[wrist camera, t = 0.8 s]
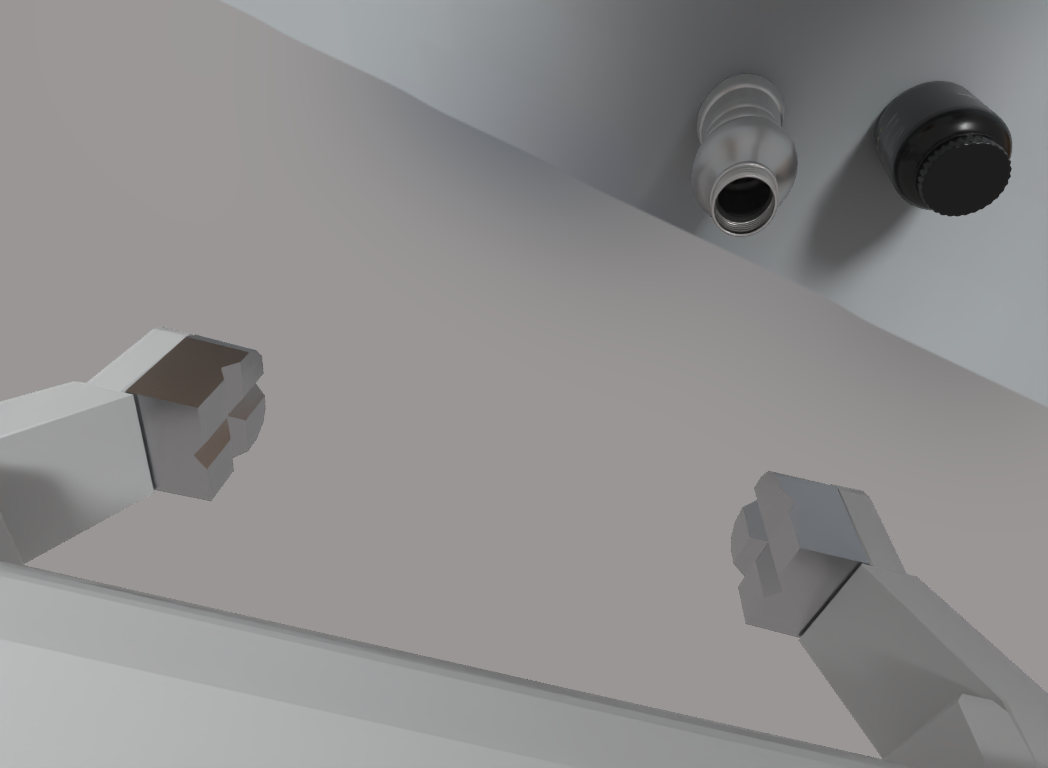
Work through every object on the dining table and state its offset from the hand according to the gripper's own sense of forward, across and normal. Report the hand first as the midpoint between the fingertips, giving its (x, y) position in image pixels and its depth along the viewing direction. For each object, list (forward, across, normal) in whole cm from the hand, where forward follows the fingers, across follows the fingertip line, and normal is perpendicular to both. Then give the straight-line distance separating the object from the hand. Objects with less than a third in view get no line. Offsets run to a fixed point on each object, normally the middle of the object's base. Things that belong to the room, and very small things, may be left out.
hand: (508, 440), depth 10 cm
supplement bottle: (+46, -26, -1) cm, 53 cm away
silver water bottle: (+48, -13, +2) cm, 50 cm away
